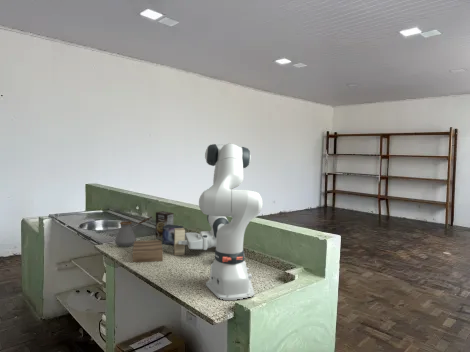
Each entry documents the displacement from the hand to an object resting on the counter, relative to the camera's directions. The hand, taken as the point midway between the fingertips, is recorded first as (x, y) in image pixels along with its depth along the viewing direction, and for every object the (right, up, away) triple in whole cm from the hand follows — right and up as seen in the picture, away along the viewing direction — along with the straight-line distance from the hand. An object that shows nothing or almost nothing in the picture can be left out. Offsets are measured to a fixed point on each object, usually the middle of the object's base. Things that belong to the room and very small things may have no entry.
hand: (177, 240), depth 171 cm
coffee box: (-14, -5, +30) cm, 33 cm away
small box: (-6, -6, +19) cm, 20 cm away
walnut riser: (-15, -7, -3) cm, 17 cm away
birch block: (+1, -7, +1) cm, 7 cm away
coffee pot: (-28, -5, +16) cm, 33 cm away
